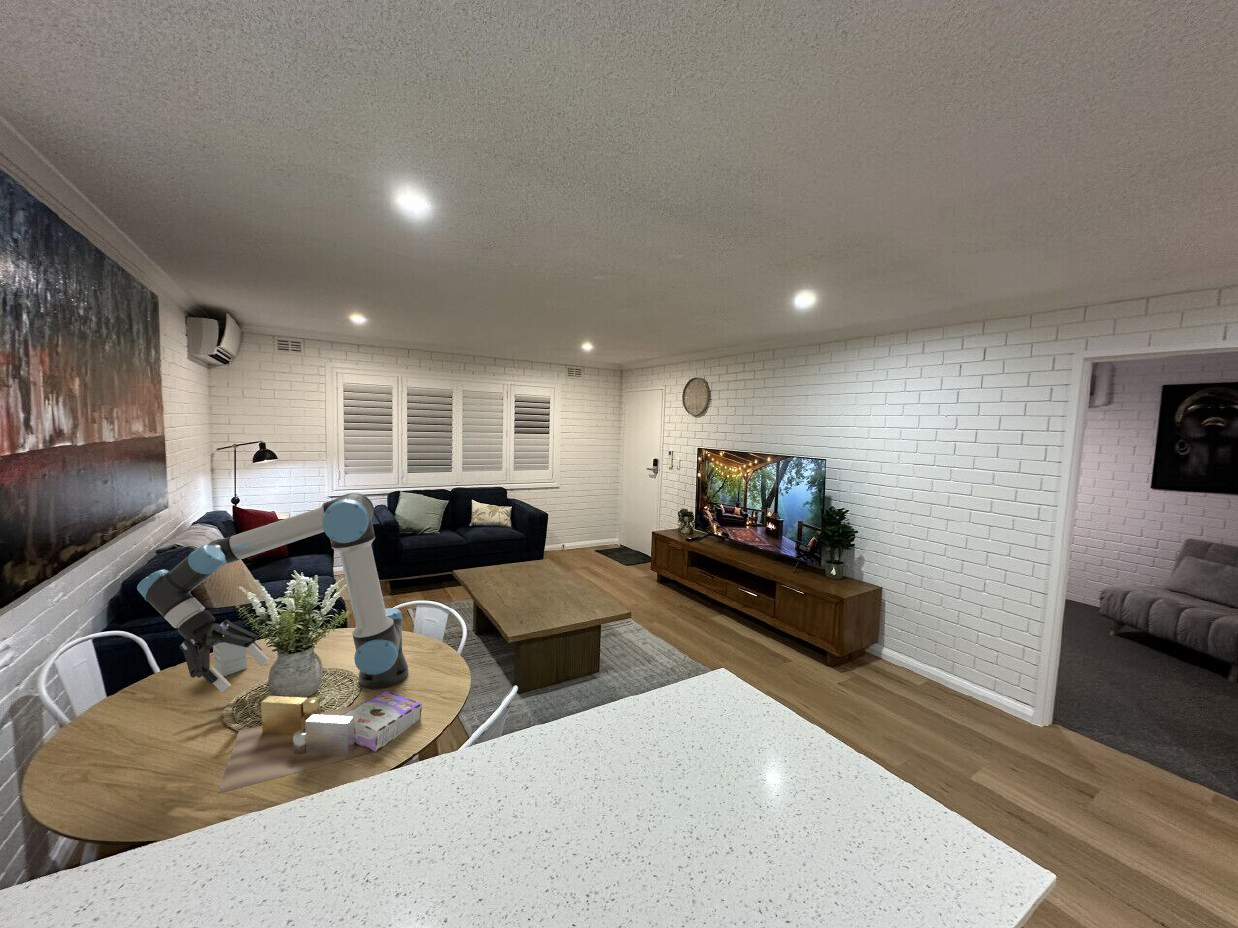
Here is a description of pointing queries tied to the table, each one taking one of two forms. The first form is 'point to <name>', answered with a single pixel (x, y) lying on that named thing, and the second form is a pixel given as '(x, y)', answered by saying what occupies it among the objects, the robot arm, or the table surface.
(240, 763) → the walnut board
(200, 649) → the robot arm
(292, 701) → the loose hinge leaf
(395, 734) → the candy box
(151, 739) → the table surface
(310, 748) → the fixed hinge leaf
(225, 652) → the grey tall block
